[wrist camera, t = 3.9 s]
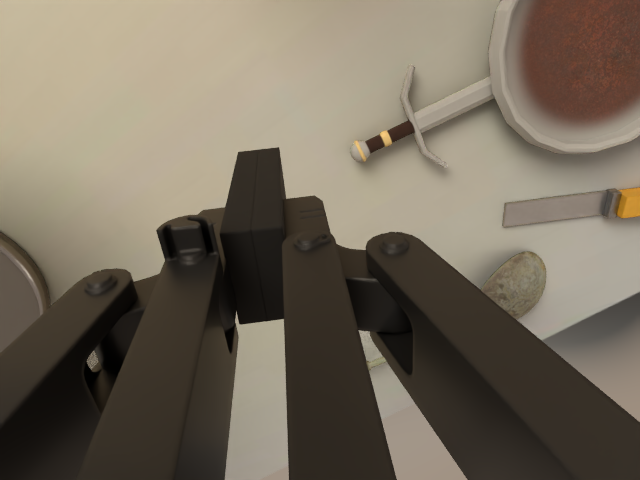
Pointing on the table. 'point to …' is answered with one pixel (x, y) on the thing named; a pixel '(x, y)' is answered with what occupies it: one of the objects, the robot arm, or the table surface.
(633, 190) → the knife
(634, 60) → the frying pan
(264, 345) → the table surface
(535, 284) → the soupspoon
